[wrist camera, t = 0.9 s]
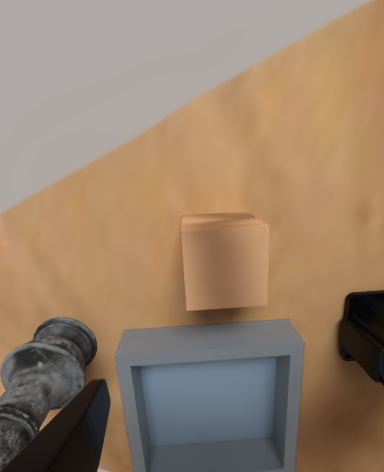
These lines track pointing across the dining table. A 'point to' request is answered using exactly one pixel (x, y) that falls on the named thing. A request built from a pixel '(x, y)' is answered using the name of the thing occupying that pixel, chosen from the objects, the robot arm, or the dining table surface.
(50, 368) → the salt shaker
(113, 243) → the dining table surface
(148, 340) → the low wall corral
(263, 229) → the light brown block
